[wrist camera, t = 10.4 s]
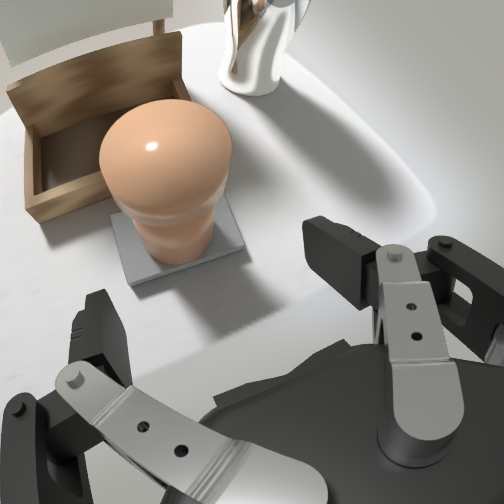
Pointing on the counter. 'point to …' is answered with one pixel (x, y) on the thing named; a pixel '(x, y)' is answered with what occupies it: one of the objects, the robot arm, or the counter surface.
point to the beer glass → (257, 42)
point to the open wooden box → (88, 115)
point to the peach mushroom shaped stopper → (168, 175)
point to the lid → (68, 22)
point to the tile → (147, 268)
